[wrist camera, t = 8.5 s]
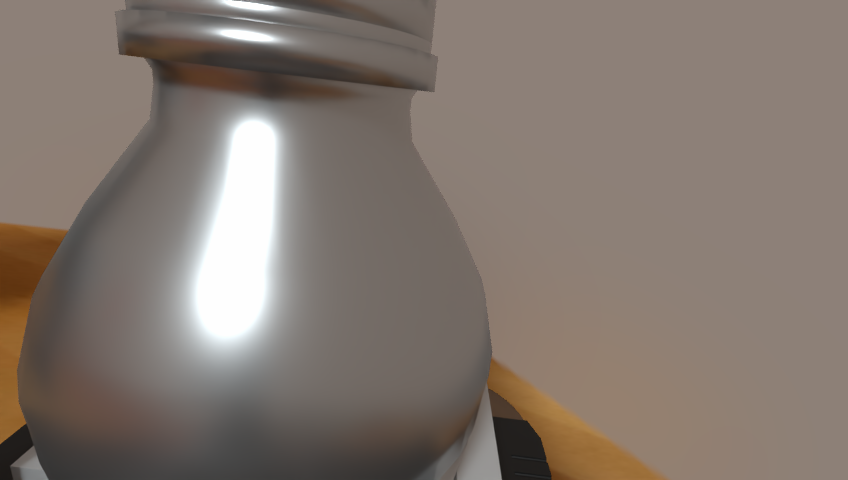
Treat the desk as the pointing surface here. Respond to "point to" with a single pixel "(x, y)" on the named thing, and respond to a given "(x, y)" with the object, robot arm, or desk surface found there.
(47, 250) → the desk surface
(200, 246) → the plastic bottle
